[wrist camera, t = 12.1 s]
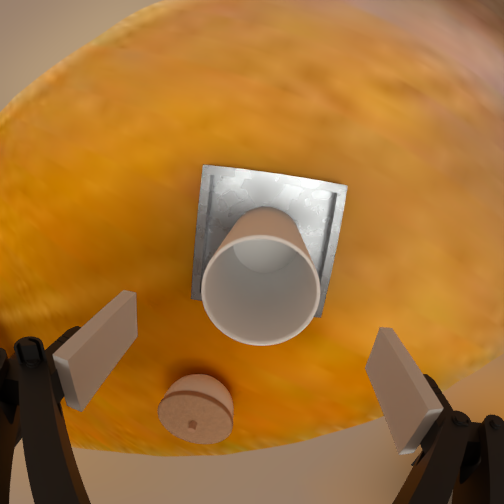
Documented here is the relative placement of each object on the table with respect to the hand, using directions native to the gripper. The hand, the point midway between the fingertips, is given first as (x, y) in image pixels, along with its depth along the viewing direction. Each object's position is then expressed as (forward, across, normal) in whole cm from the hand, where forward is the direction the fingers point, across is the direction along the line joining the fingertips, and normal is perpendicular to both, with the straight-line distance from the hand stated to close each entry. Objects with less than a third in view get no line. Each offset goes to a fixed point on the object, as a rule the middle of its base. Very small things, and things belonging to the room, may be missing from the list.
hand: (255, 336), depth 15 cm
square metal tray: (+22, 0, 0) cm, 22 cm away
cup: (+22, 0, 0) cm, 22 cm away
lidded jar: (+23, -6, -25) cm, 34 cm away
